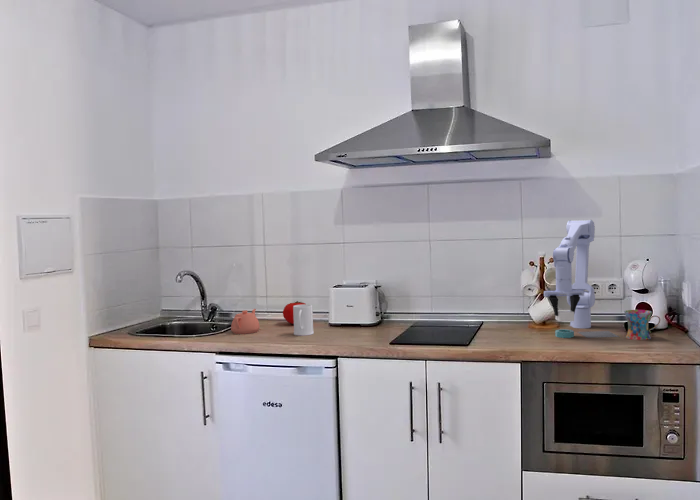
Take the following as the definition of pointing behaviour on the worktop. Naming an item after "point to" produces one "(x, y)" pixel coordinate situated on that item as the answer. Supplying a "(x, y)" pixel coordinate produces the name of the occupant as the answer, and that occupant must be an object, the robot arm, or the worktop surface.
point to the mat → (598, 334)
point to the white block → (565, 315)
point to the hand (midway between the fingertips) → (564, 315)
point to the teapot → (245, 323)
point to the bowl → (564, 333)
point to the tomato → (290, 311)
